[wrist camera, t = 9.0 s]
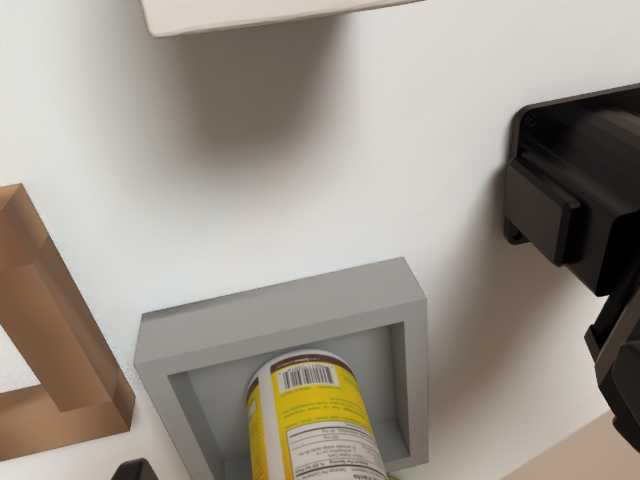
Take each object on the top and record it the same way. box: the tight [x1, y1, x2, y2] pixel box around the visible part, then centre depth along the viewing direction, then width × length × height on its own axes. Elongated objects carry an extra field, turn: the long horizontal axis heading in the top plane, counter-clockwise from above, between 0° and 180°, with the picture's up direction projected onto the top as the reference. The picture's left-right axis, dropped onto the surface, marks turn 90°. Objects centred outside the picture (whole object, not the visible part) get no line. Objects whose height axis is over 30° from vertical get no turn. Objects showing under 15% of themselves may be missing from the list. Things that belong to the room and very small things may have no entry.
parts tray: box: [133, 257, 428, 480], centre depth 24 cm, size 12×12×3 cm
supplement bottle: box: [246, 349, 388, 480], centre depth 21 cm, size 6×6×10 cm
